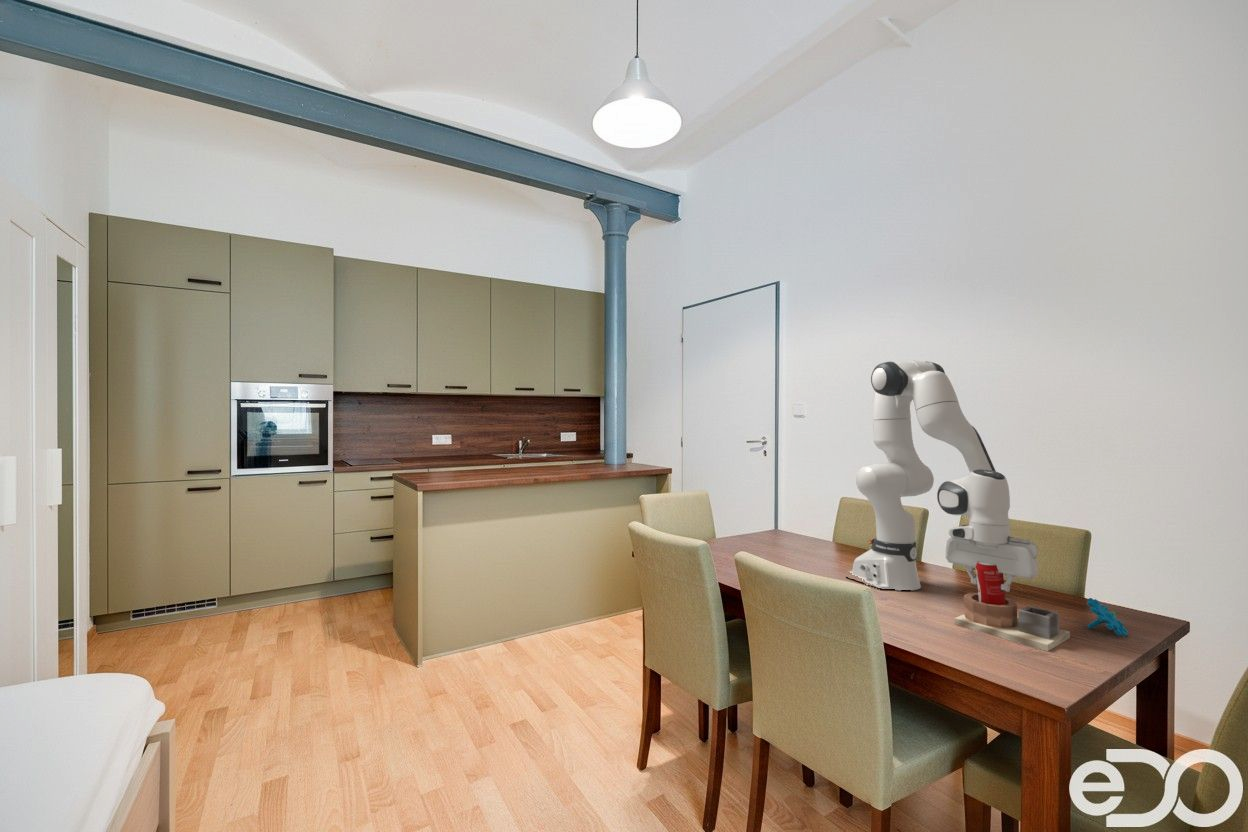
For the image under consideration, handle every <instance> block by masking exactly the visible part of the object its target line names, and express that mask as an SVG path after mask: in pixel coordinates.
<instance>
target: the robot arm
mask: <svg viewBox="0 0 1248 832" xmlns="http://www.w3.org/2000/svg"><path fill="white" fill-rule="evenodd" d="M870 382H871V386H872V389H873V391H874V392H875V394H874V399H873V407H872V428H873V429H872V430H873V443H874V445H875V447H877V448H878V449H880V450H881V451H882V452H883V453H884V454H885V455H886V458H887V462H885V463H884V462H880V463H879V462H878V463H877V462H876V463H872V464H869V465H868V464H867V465H864V466H862V467H861V468H860V469H858V471H857V473H856V477H855V482H856V483H855V484H856V486H857V489H858V490H859V492H860V493H861V494H862V495H863V496H865V497H866V498H867V500H868V501H869V503H870V504H871V507H872V508H873V509H872V510H873V512H874V516H875V530H876V531H875V533H876V534H875V535H876V537H875V538H873V539H870V540H869V542H868V545H870V544H871V548H870V549H868V550H867V551H866V552H863V553H862V554H860V555H859V556H856V558H854V561H853V563H852V570H850V571H848V572H850V573H852V575H855V576H858V577H859V578H862V581H863V579H864V580H865V582H867V583H870V584H871V585H872V584H873V585H874V586H876V587H878V588H882V589H895V590H894V591H901V590H911V591H917V590H920V589H921V588H922V585H921V582H920V578H919V575H918V570H917V569H918V568H917V562H916V561H917V554H918V553H917V542H916V541H915V538H916V537H915V536H916V535H915V534H916V533H915V532H916V531H915V529H916V528H915V527H916V526H915V525H916V524H915V523H916V522H915V521H916V520H915V518H914V516H913V515H912V513H910V511H908V510H906V509H905V508H904V507H903V504H902V500H901V499H902V497H903V498H904V497H916V496H920V495H923V494H926V493H928V492H930V491H931V490H932V488H933V486H934V483H935V481H934V480H935V479H934V474H933V472H932V470H931V469H930V467H929V466H927V465H926V464H925V463H924V462H923V461H922V460H921V459H920V457H919V455H918V453H917V450H916V449H915V446H914V445H915V444H914V440H913V432H912V430H913V429H912V419H911V417H912V416H911V415H912V414H911V404H912V402H913V405H914V409H915V414H916V418H917V421H918V424H919V426H920V429H921V430H922V431H923V433H925V434H926V435H928V436H929V437H931V438H933V439H935V440H937V441H941V442H944V443H946V444H948V445H951V446H952V447H954V448H955V449H957V450H958V451H959V452H960V453H961V456H962V457H963V459H964V461H965V464H966V466H967V468H968V471H969V474H967V475H965V476H963V477H960V478H955V479H951V480H946V481H944V482H942V483H941V484H940V486H939V487H938V490H937V493H936V494H937V495H936V496H937V498H936V499H937V503H938V505H939V507H940V509H941V510H943V512H945V513H946V514H949V515H952V516H968V524H962V525H960V526H959V525H957V526H955V527H951V528H949V529H948V535H949V536H950V537H948V538H947V540H946V545H945V559H946V561H947V562H948V563H950V564H954V565H960V566H965V571H966V572H967V574H968V576H969V578H970V584H972V585H976V586H978V585H977V574H976V573H975V571H976V564H977V562H982V563H987V564H993V565H997V569H998V572H999V573H1003V575H1004V578H1005V579H1006V581H1004V583H1003V584H1001V590H1002V591H1005V593H1008V592H1009V593H1010V591H1011V584H1012V583H1013V581H1014V580H1015V579H1016V577H1018V578H1024V579H1030V580H1031V579H1033V578H1036V577H1037V576H1038V574H1039V567H1038V566H1039V565H1038V559H1037V557H1038V547H1037V545H1036V544H1035V543H1034V542H1032V541H1031V540H1029V539H1026V538H1018V537H1014V536H1011V521H1010V519H1009V518H1010V517H1009V511H1010V507H1011V506H1010V505H1011V501H1010V497H1011V496H1010V489H1009V482H1008V480H1007V477H1006V475H1004V474H1002V473H1000V472H998V471H997V470H996V468H995V466H994V464H993V461H992V460H991V457H990V455H989V452H988V450H987V448H986V446H985V444H984V442H983V440H982V437H981V436H980V434H979V432H978V430H977V429H976V428H975V427H974V426H973V425H972V424H971V423H970V422H969V420H968V419H967V417H966V416H965V414H964V413H963V411H962V409H961V406H960V403H959V399H958V396H957V393H956V390H955V389H954V387H953V385H952V382H951V380H950V379H949V377H948V375H947V374H946V372H945V370H944V368H943V366H941V365H940V364H938V363H936V362H932V361H926V360H925V361H920V360H905V361H903V360H898V361H886V362H885V361H884V362H881V363H879V364H877V365H876V366H875V367H874V369H873V371H872V373H871V376H870ZM865 586H868V584H866V585H865Z"/></svg>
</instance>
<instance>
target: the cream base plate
mask: <svg viewBox="0 0 1248 832" xmlns="http://www.w3.org/2000/svg"><path fill="white" fill-rule="evenodd" d="M1005 601H1006V605H992V604H986V603H982V602H979V596H978V592H968V593H966V594H964V595H963V614H961V615H959V616H957V617H954V620H953V622H954V625H957V626H960V627H962V628H963V627H964V628H967V629H970V630H974V631H978V632H979V633H984V634H986V635H987V634H988V635H990V636H994V637H998V638H1002V639H1004V640H1008V641H1011V642H1014V643H1018V644H1020V645H1021V644H1022V645H1023V646H1024V645H1025V646H1029V647H1032V648H1035V649H1038V650H1042V651H1045V652H1048V651H1050V650H1053V649H1054V648H1056V647H1057V646H1059V645H1060V644H1062V643H1063V642H1064V643H1065V642H1066V641H1067V640H1068V639H1070V638H1071V632H1070V631H1069V630H1065V629H1062V628H1059V623H1060V622H1059V620H1060V619H1059V612H1056V611H1052V610H1049V609H1044V608H1040V607H1035V606H1032V605H1027V606H1026V607H1023V608H1021V609H1019V610H1018V604H1017V602H1016V601H1015V600H1013V599H1012V598H1008V597H1006V596H1005Z"/></svg>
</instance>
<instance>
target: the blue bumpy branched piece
mask: <svg viewBox="0 0 1248 832" xmlns="http://www.w3.org/2000/svg"><path fill="white" fill-rule="evenodd" d="M1086 600H1087V602H1086V604H1087V605H1088V606H1089V607H1090V608H1089V609H1090V611H1091V612H1092V613H1093V614H1096V615H1097V616H1096V620H1093V621H1092V622H1090V623H1088V624H1087V625H1086V626H1087V627H1088V628H1089V629H1090V628H1091V629H1094V628H1095V627H1097V626H1101V625H1102V624H1106V625H1105V626H1106V628H1107V629H1109V631H1112V630H1113V629H1114V631H1113V632H1114V633H1115V634H1116V635H1117V636H1122V637H1123V636H1125V637H1127V636H1128V634H1127V633H1128V632H1129V631H1128V629H1126V628H1125V625H1124V624H1123V622H1122V621H1121V620H1118V618H1117V617H1118V616H1117V613H1116V612H1115V611H1113V610H1111V611H1109V608H1108V607H1107V606H1106V605H1105V604H1102V605H1101V602H1100V600H1098V599H1096V598H1095V599H1093V598H1092V597H1089V598H1087V599H1086Z"/></svg>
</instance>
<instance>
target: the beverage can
mask: <svg viewBox="0 0 1248 832" xmlns="http://www.w3.org/2000/svg"><path fill="white" fill-rule="evenodd" d="M975 572H976V573H975V575H976V577H977V585H976V586H977V593H978V596H979V602H982V603H986V604H992V605H1006V601H1005V597H1006V592H1005V591H1002V590H1001V584H1003V583H1005V580H1004V578H1005V577H1004V574H1003V573H999V572H998V569H997V565H993V564H987V563H982V562H977V564H976V568H975Z"/></svg>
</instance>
